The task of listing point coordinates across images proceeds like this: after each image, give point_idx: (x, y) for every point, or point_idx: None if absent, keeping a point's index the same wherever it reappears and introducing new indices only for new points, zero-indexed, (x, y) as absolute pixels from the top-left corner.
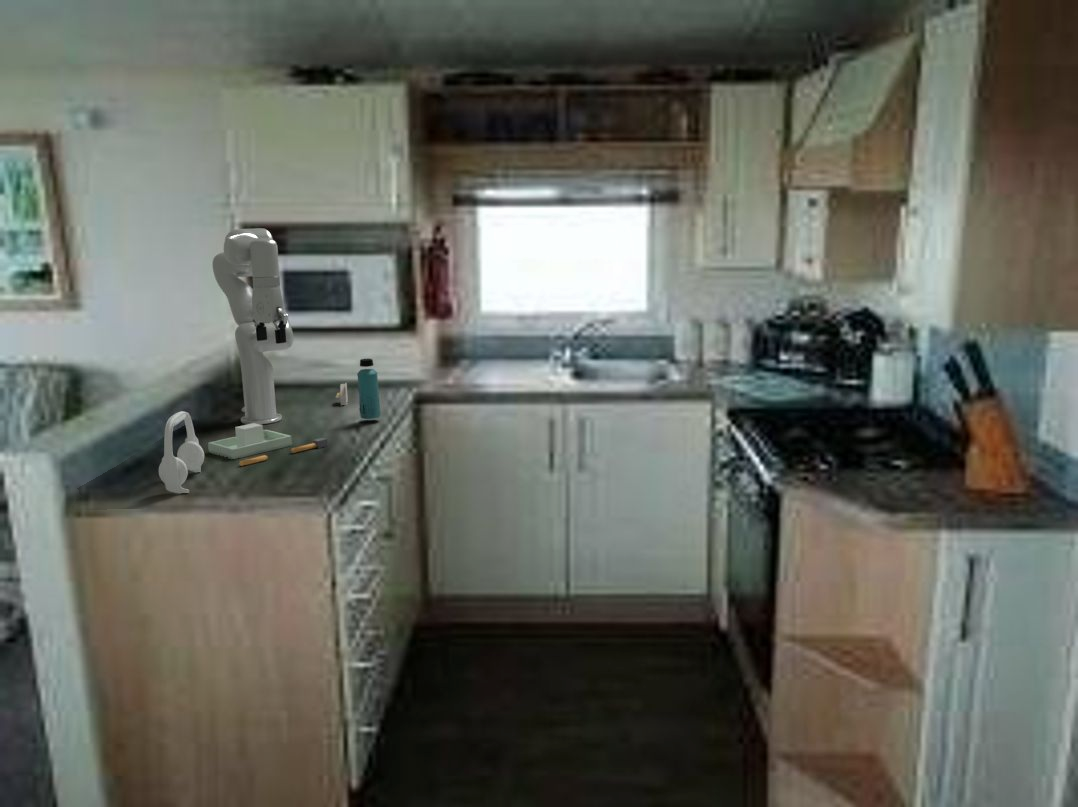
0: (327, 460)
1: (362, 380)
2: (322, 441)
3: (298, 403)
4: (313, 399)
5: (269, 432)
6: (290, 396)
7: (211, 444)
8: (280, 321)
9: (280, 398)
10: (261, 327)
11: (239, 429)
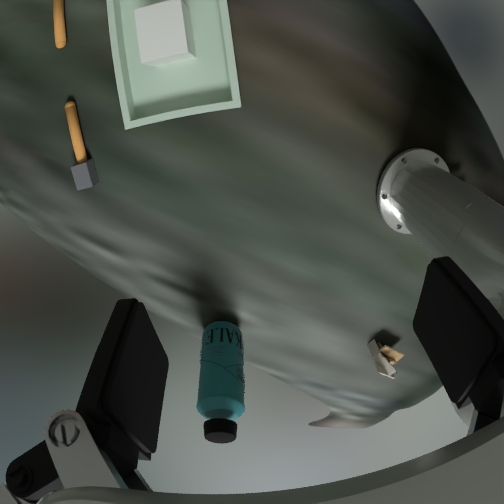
0: (3, 146)
1: (208, 387)
2: (75, 177)
3: None
4: None
5: (213, 103)
6: None
7: None
8: (26, 493)
9: None
10: (476, 377)
11: (158, 4)
